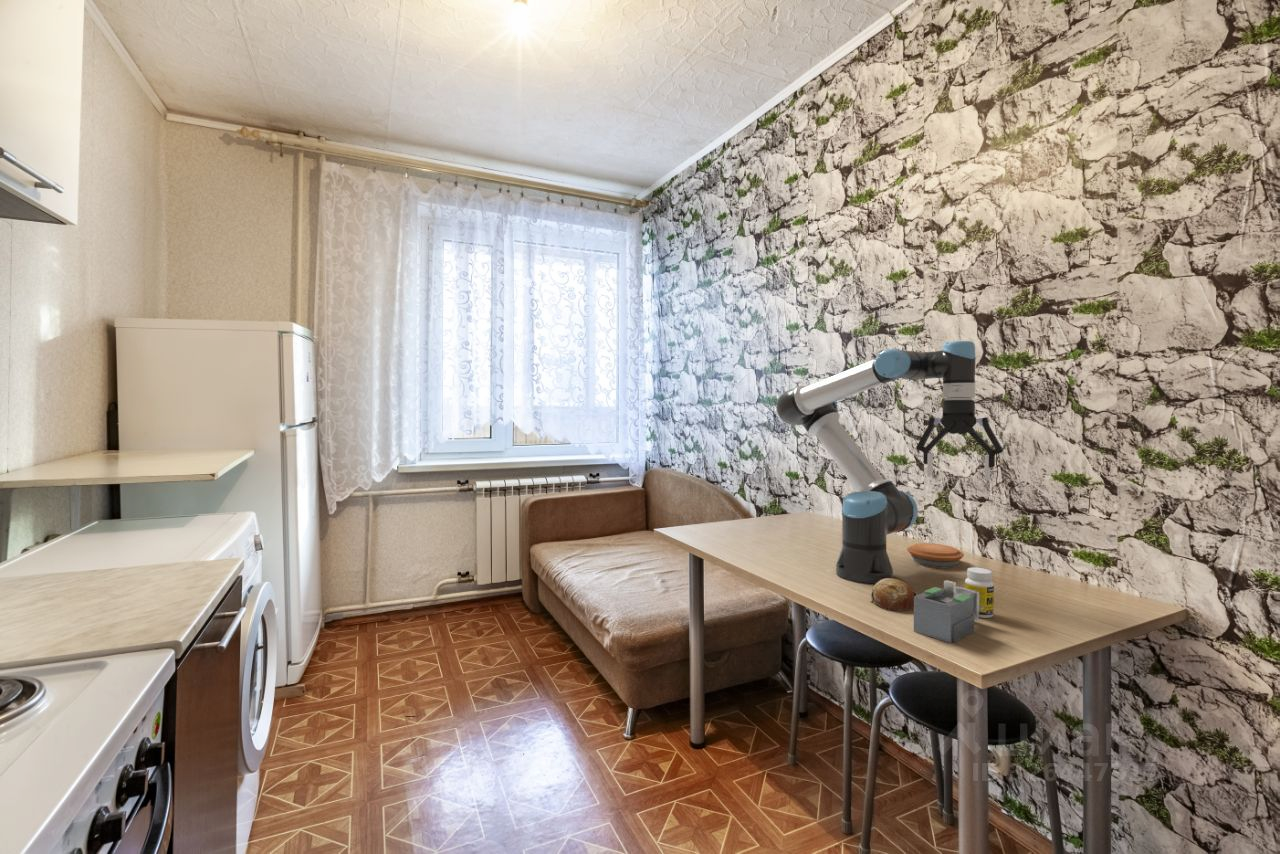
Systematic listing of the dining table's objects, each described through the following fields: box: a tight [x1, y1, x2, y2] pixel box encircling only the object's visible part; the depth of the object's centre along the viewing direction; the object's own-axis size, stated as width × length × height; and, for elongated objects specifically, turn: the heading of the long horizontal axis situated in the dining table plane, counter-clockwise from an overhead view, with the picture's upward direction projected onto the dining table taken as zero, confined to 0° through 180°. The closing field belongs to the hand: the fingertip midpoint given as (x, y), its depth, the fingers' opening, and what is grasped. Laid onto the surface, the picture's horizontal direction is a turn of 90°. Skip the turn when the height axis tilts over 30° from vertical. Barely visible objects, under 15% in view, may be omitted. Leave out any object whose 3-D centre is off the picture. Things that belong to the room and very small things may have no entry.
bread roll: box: [870, 578, 917, 611], centre depth 135 cm, size 10×10×8 cm
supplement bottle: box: [964, 567, 995, 619], centre depth 128 cm, size 6×6×10 cm
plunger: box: [939, 579, 980, 621], centre depth 121 cm, size 10×5×9 cm, turn 126°
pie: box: [906, 542, 965, 568], centre depth 170 cm, size 16×16×5 cm
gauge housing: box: [913, 586, 975, 644], centre depth 118 cm, size 10×8×8 cm
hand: (957, 478), depth 149 cm, fingers open, 13 cm apart
